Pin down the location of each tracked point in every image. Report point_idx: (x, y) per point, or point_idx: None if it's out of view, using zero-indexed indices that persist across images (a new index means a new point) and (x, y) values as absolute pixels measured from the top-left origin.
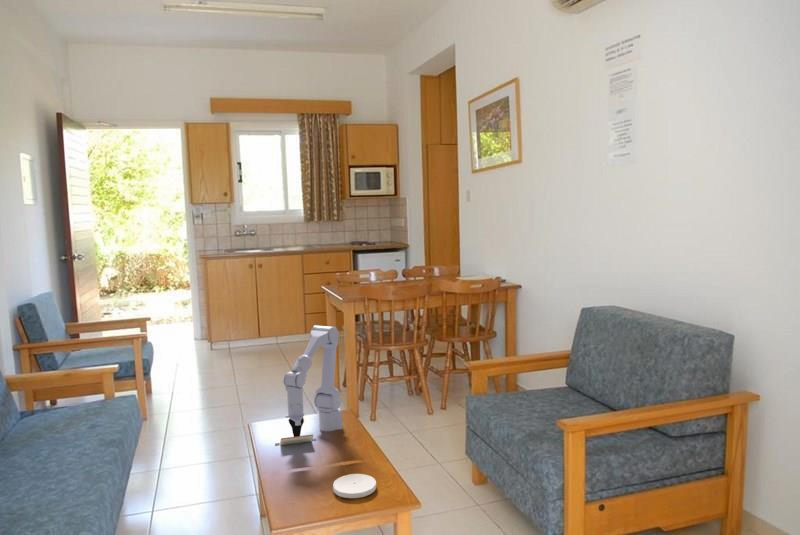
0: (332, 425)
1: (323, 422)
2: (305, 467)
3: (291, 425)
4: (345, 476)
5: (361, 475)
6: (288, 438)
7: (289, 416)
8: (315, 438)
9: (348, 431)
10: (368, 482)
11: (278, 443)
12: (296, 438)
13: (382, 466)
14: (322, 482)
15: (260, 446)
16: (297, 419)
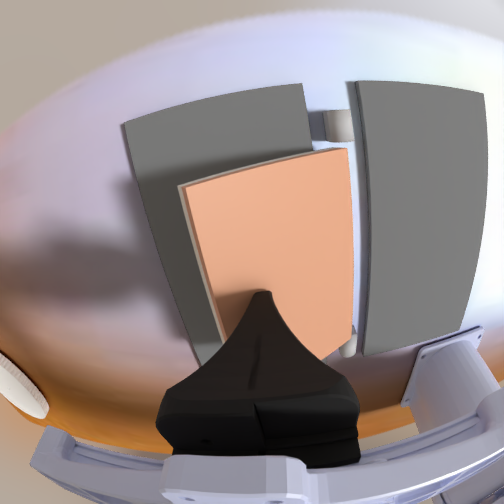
0: (422, 404)
1: (445, 392)
2: (60, 298)
3: (186, 384)
4: (20, 385)
5: (38, 409)
6: (200, 256)
7: (145, 500)
8: (348, 355)
9: (395, 413)
10: (23, 406)
11: (339, 134)
12: (213, 314)
13: (122, 443)
14: (7, 332)
15: (366, 21)
16: (68, 487)
